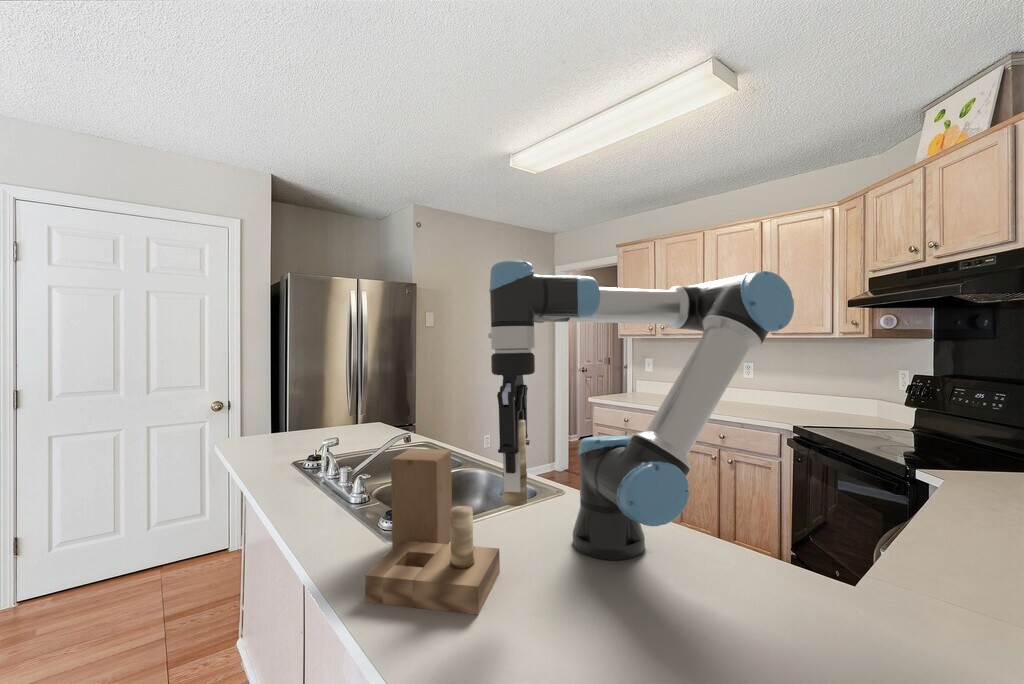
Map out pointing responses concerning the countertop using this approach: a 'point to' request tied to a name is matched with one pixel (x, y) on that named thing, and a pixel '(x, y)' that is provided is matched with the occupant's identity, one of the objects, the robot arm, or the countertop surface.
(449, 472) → the wooden block
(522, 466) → the peg
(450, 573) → the board
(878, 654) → the countertop surface
